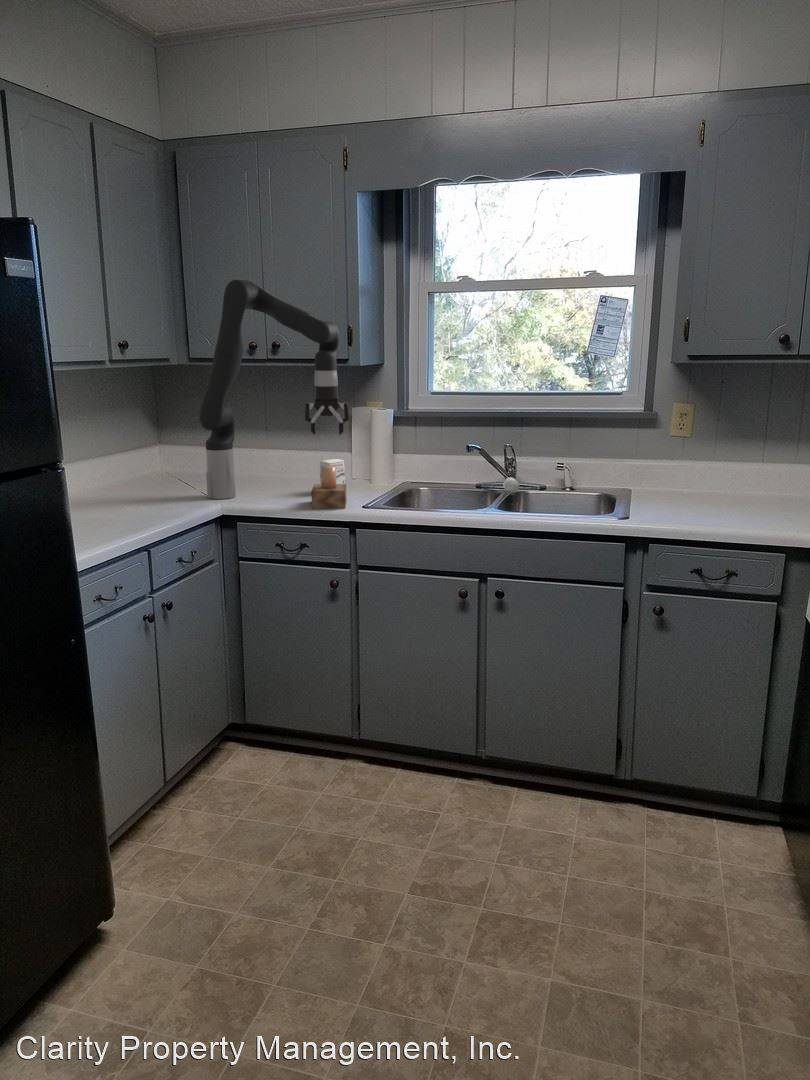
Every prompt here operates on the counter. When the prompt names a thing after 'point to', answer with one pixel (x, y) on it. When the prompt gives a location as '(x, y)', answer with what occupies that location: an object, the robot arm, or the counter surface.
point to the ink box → (339, 469)
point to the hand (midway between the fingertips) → (327, 434)
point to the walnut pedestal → (329, 497)
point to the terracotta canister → (328, 477)
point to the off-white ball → (511, 485)
